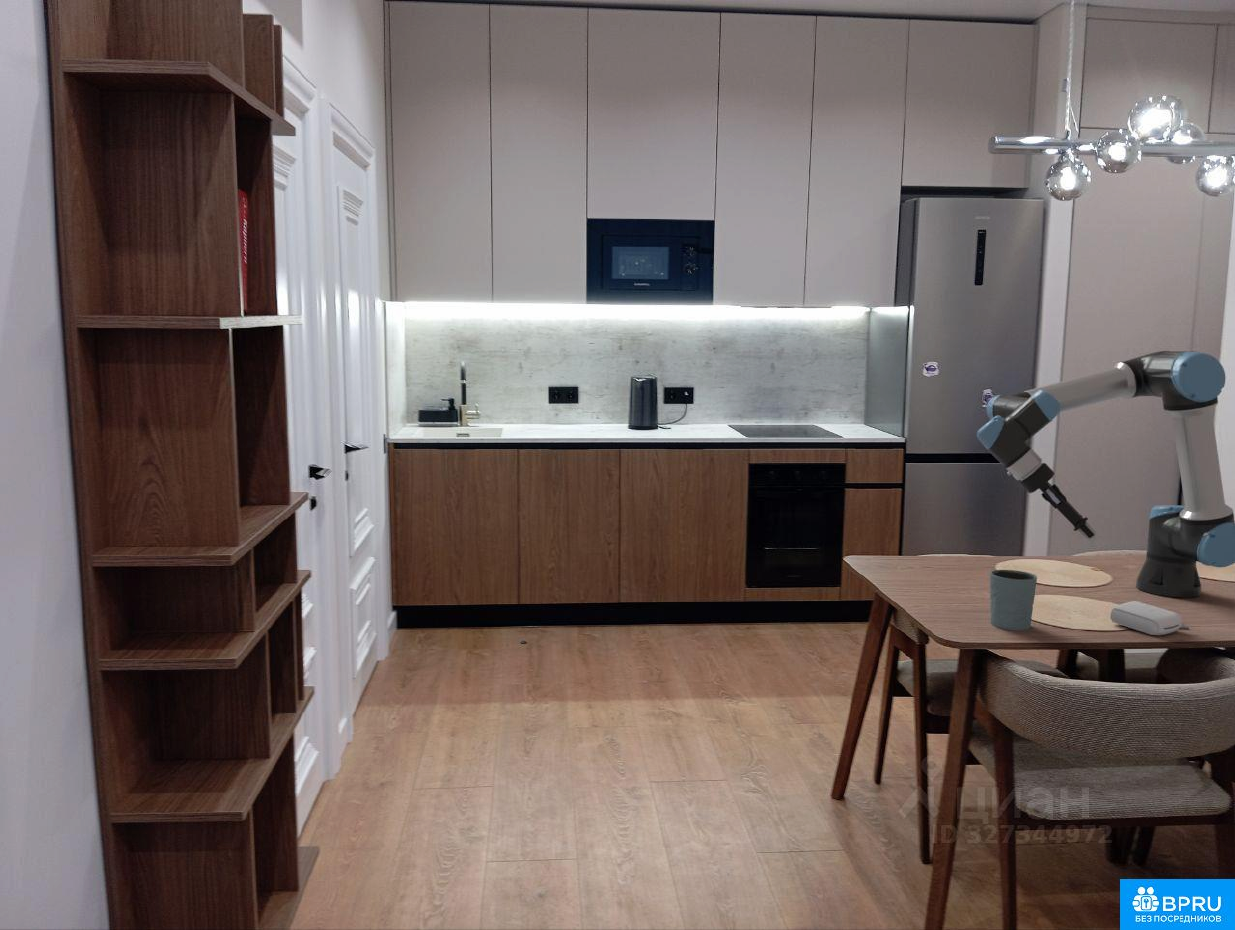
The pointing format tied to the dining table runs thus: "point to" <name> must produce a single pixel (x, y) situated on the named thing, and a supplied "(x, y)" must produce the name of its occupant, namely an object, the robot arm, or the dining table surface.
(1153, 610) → the photo printer
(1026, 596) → the teal cup
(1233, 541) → the robot arm
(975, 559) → the dining table surface
